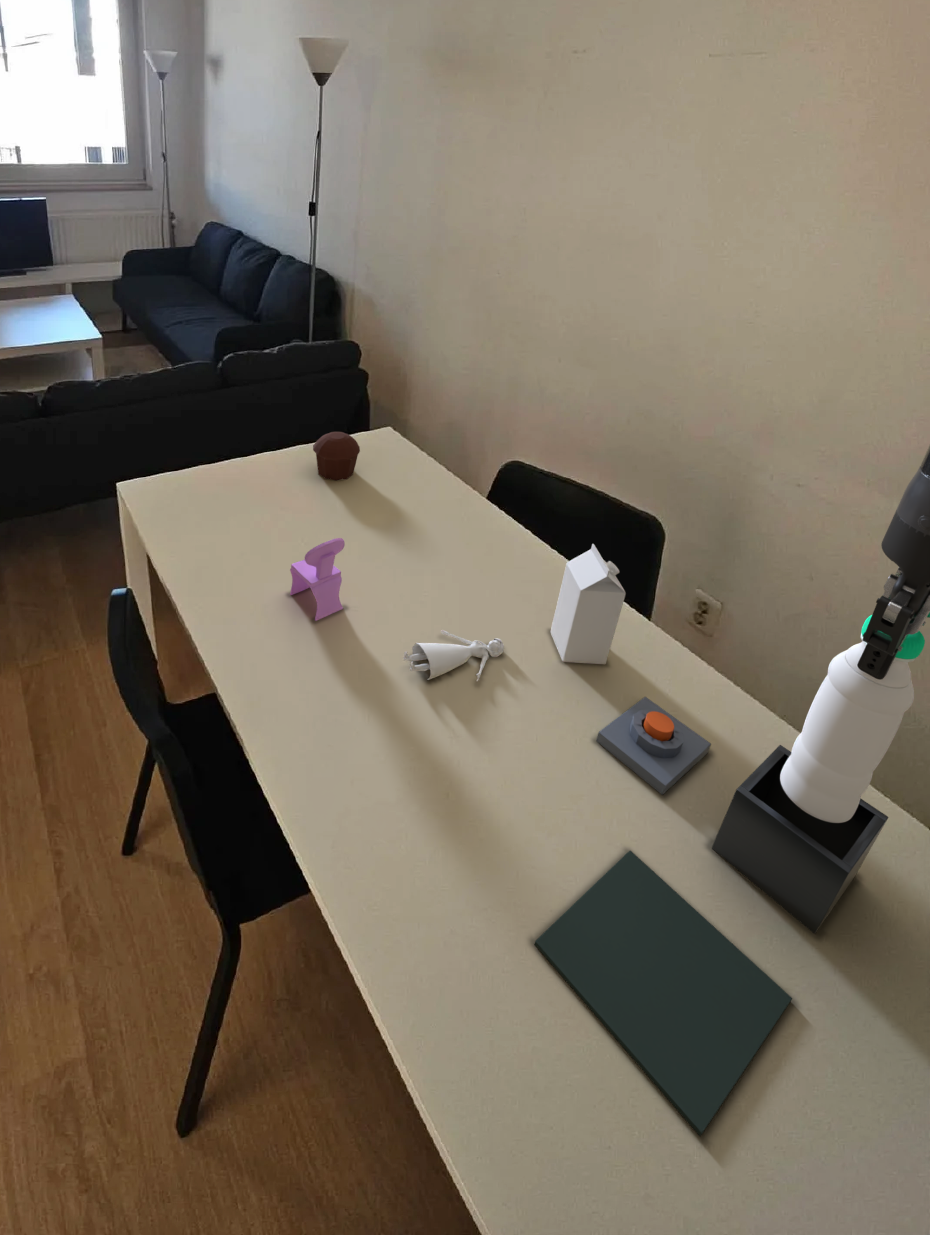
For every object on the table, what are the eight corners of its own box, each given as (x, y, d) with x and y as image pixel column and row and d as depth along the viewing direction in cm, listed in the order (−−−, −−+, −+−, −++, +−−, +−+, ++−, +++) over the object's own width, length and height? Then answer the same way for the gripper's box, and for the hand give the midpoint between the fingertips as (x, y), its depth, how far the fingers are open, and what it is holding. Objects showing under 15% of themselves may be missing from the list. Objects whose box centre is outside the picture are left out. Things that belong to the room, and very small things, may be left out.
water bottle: (847, 787, 79) (934, 618, 69) (856, 838, 74) (951, 662, 64) (776, 759, 83) (849, 594, 73) (779, 805, 77) (858, 633, 67)
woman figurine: (393, 626, 112) (486, 612, 118) (389, 648, 113) (481, 632, 120) (426, 679, 102) (526, 660, 108) (421, 701, 103) (520, 681, 109)
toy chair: (320, 581, 129) (324, 514, 123) (348, 608, 122) (354, 538, 116) (283, 596, 124) (285, 527, 118) (310, 625, 118) (314, 553, 112)
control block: (641, 706, 104) (648, 687, 103) (707, 754, 97) (715, 734, 95) (595, 742, 98) (601, 722, 96) (661, 797, 91) (669, 776, 89)
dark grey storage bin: (753, 803, 90) (780, 744, 86) (853, 878, 82) (888, 816, 77) (710, 850, 84) (736, 789, 80) (813, 936, 76) (849, 873, 71)
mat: (628, 855, 83) (630, 849, 83) (789, 1003, 70) (792, 998, 69) (533, 946, 74) (535, 940, 73) (699, 1138, 60) (702, 1133, 60)
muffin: (338, 456, 175) (340, 421, 171) (367, 474, 168) (370, 437, 164) (302, 469, 169) (303, 433, 165) (331, 488, 161) (333, 450, 157)
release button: (652, 716, 98) (655, 707, 98) (676, 733, 96) (679, 724, 95) (638, 727, 96) (641, 718, 96) (662, 745, 94) (665, 736, 93)
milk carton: (562, 663, 112) (585, 569, 104) (549, 633, 119) (571, 542, 111) (605, 666, 112) (632, 572, 104) (590, 635, 118) (614, 544, 111)
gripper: (978, 569, 57) (899, 718, 63) (1023, 519, 64) (949, 657, 71) (871, 525, 62) (809, 666, 69) (924, 484, 70) (864, 615, 77)
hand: (880, 661), depth 70 cm, fingers closed on water bottle, 5 cm apart
